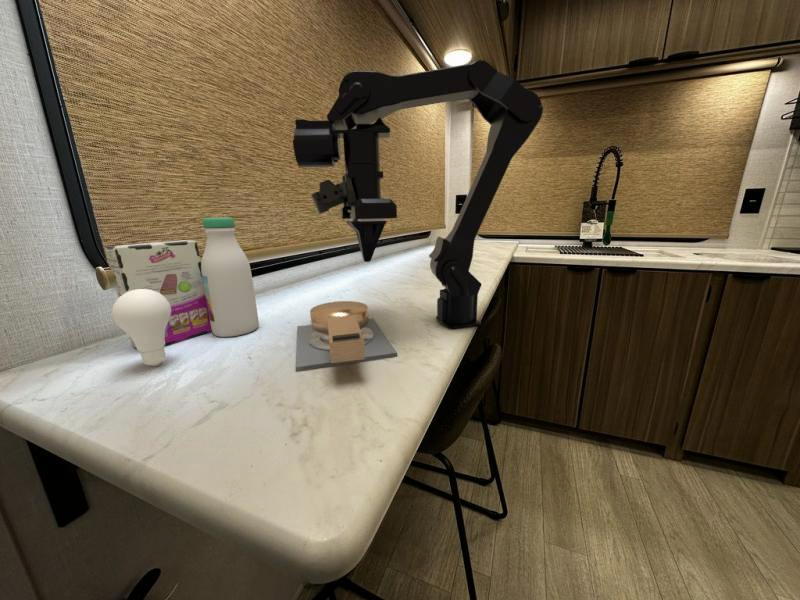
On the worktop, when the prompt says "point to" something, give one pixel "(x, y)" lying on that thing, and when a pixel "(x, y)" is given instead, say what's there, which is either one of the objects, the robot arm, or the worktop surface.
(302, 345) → the mat
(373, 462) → the worktop surface
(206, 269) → the milk bottle
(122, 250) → the candy bar box
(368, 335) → the white disc
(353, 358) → the door handle
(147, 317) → the lightbulb
